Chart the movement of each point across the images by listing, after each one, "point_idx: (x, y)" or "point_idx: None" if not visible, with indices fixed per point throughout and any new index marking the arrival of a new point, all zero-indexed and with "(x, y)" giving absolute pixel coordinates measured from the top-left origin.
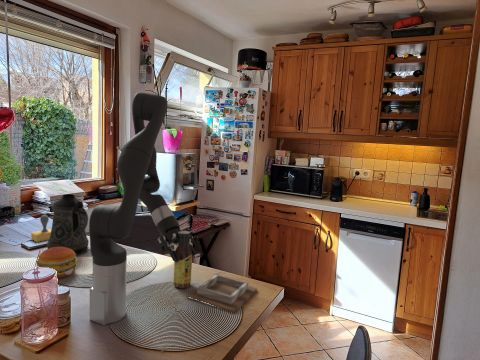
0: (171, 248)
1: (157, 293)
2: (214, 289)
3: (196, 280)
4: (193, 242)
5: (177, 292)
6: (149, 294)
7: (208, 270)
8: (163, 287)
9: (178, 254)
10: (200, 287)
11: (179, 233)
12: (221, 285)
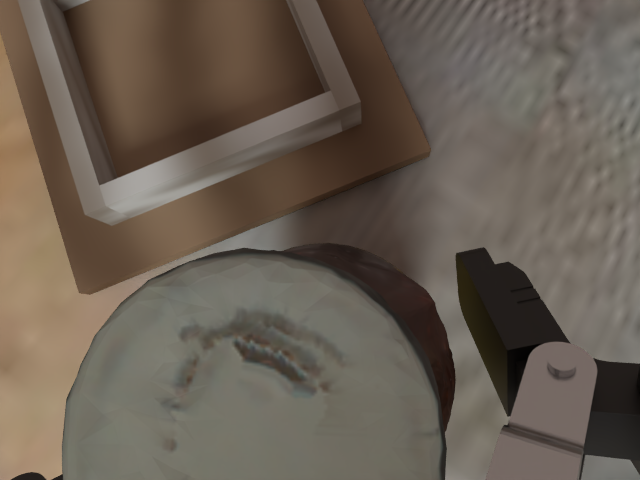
0: (592, 377)
1: (576, 335)
2: (220, 116)
3: None
4: (41, 475)
5: (440, 264)
6: (637, 356)
7: (18, 455)
8: (492, 397)
9: (442, 326)
10: (343, 88)
11: (445, 464)
12: (140, 138)
